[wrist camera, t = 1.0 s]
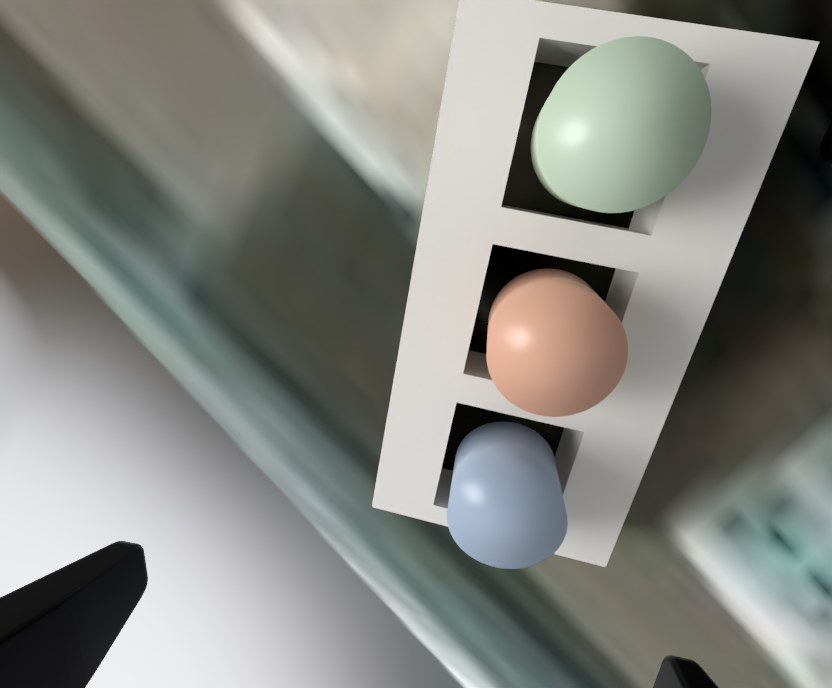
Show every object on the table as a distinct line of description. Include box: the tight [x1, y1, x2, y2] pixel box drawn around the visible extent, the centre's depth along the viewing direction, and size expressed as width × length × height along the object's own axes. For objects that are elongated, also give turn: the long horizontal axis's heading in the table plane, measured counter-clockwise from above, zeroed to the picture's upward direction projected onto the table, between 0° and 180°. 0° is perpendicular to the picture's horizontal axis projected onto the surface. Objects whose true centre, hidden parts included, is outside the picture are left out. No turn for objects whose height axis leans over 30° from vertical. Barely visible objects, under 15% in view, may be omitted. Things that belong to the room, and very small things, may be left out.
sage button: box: [531, 36, 711, 213], centre depth 12 cm, size 4×4×3 cm
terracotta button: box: [486, 269, 628, 417], centre depth 14 cm, size 4×4×3 cm
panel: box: [372, 0, 819, 567], centre depth 16 cm, size 9×17×2 cm, turn 170°
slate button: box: [447, 422, 568, 569], centre depth 16 cm, size 4×4×3 cm
